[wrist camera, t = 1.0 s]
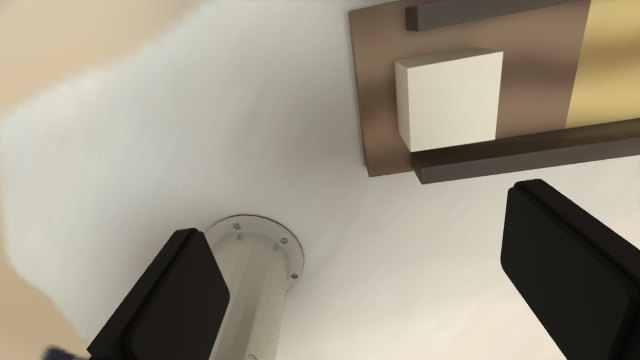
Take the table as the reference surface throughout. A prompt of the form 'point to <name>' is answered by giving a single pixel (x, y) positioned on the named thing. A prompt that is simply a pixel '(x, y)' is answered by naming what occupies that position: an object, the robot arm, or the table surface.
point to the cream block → (448, 97)
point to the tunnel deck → (508, 81)
